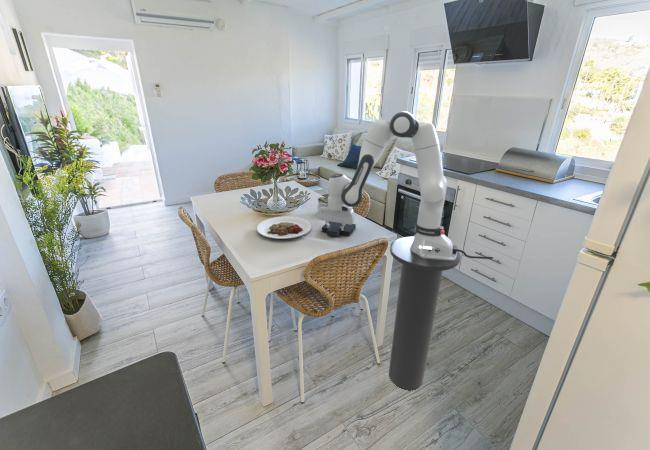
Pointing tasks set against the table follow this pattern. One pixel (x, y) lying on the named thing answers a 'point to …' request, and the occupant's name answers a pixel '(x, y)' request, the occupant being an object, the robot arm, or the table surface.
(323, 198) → the food container
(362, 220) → the table surface
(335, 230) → the grey pad
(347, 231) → the black pad
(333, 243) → the table surface
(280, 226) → the plated food
